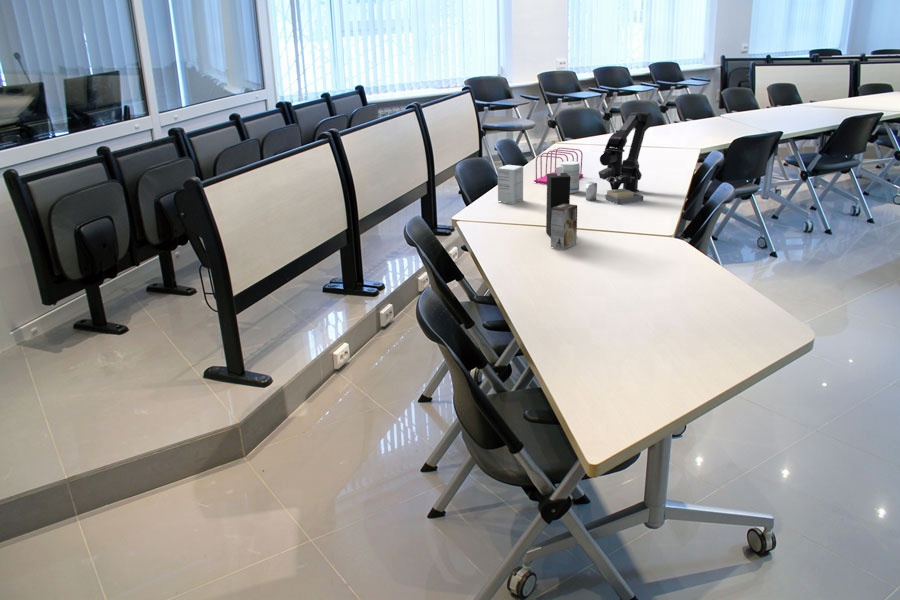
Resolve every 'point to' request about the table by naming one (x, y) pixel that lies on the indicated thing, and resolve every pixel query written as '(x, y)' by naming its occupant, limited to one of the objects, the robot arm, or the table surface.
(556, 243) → the coffee box
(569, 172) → the supplement tub
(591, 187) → the grey rounded block
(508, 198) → the supplement box
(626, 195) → the carton
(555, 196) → the tall black pillar
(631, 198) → the gray u-shaped frame
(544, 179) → the file sorter
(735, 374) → the table surface
